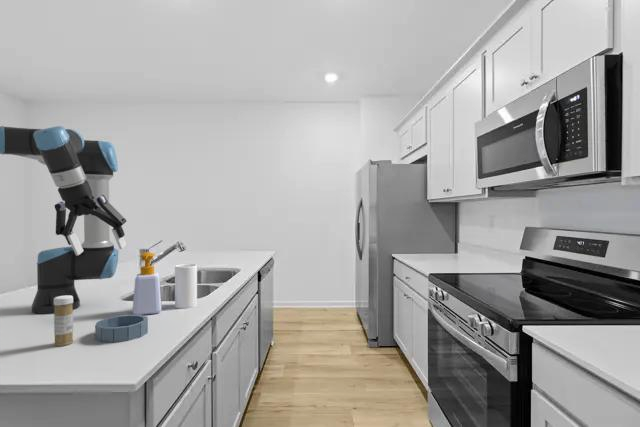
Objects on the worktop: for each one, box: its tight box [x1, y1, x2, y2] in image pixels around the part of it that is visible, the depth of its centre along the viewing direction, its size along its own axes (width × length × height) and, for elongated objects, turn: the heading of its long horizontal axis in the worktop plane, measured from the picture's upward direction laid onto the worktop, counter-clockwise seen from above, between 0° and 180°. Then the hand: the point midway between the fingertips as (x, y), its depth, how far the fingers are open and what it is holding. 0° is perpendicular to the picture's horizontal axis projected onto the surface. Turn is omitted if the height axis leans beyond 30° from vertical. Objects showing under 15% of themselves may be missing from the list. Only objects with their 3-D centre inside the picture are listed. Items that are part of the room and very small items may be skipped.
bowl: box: [94, 314, 149, 343], centre depth 115 cm, size 14×14×4 cm
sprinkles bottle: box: [53, 295, 74, 347], centre depth 107 cm, size 5×5×14 cm
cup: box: [174, 263, 198, 309], centre depth 149 cm, size 8×8×16 cm
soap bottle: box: [132, 251, 162, 316], centre depth 138 cm, size 10×14×22 cm
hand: (101, 250), depth 113 cm, fingers open, 13 cm apart
